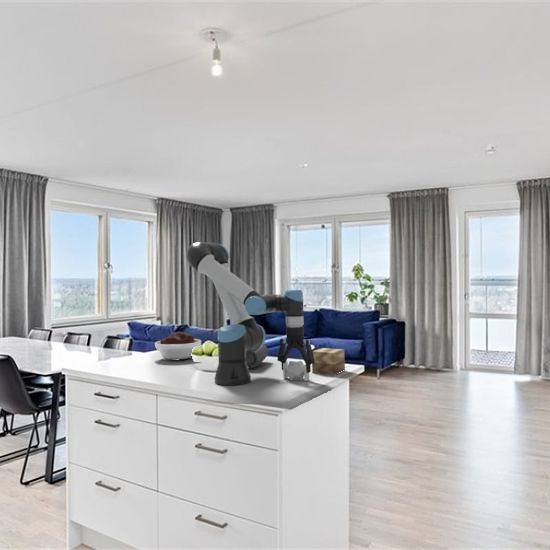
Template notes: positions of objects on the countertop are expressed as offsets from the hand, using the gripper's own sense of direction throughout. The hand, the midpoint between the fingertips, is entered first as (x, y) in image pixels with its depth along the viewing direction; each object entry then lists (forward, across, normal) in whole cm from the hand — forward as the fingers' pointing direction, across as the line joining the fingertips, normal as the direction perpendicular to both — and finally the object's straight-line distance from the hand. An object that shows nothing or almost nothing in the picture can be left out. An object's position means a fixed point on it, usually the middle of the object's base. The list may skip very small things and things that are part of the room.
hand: (296, 379), depth 206 cm
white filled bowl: (0, +84, -18) cm, 86 cm away
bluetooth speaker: (0, +34, -19) cm, 39 cm away
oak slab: (-5, -5, -21) cm, 22 cm away
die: (0, 0, 0) cm, 0 cm away
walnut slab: (0, -5, -21) cm, 22 cm away
